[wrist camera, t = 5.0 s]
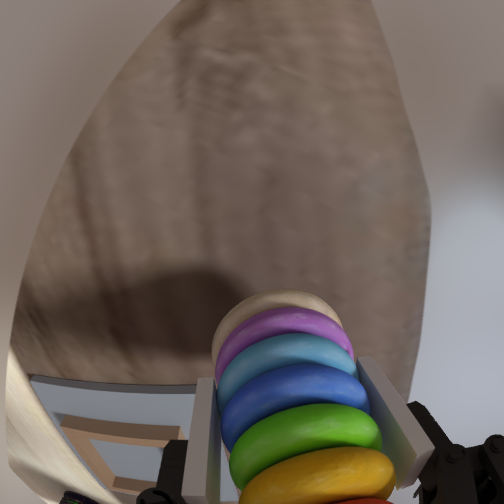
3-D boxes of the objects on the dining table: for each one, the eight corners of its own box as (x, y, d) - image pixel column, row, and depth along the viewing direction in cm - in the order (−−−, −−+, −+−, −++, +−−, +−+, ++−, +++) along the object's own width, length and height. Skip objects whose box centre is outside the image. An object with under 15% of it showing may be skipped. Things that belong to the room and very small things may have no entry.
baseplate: (237, 494, 29) (238, 512, 26) (106, 483, 28) (101, 498, 25) (207, 384, 23) (204, 409, 20) (34, 374, 23) (20, 391, 20)
